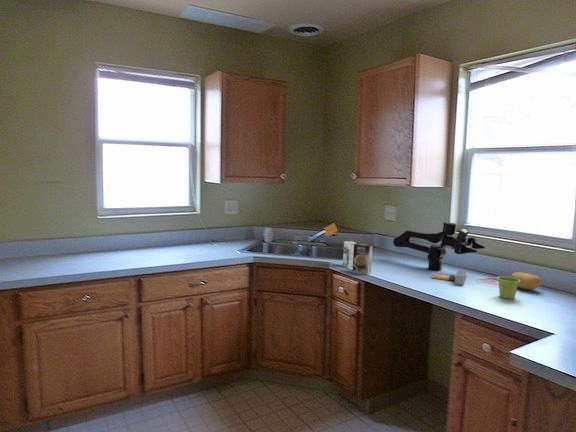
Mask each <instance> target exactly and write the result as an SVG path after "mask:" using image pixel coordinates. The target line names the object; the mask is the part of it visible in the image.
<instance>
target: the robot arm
mask: <svg viewBox="0 0 576 432" xmlns="http://www.w3.org/2000/svg"><path fill="white" fill-rule="evenodd" d="M442 224H443V225H442V226H443V227H442V231H439V232H422V231H416V230H412V229H409V230H405V231H404V232H403V233H402V234H400V235H398V236H397V237H395V238H394V239H393V241H392V242H393V245H394V246H395V248H409V249H411V250H416V251H419V252H422V253H425V254H428V255H426V257H427V260H428V267H426V269H427V270H430V271H435V272H440V271H441V270H443V262H442V260H443V258H444V257H445V256H446V255H447V250H446V247H449V248H451V249H452V250H453V249H454V251H453V252H454V254H456V255H463V254H464V255H465V254H470V253H471V254H472V253H477V252H478V249H479V250H482V249H485V245H483V244H481V243H479V242H478V241H477V238H476V237H475V236H470V237H468V238H467V235H468V234H469V233H470V232H469V230H468V229H466V228H463V229H460V230H459V232H458V234H457V235H456V237H455V236H453V235H455V234H456V229H457V223H454V222H443V223H442ZM411 238H414V239H420V240H424V241H425V240H426V241H427V242H429V243H431V245H428V244H427V245H426V244H422V243H419V242H415V241H411Z"/></svg>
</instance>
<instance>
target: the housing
mask: <svg viewBox="0 0 576 432" xmlns="http://www.w3.org/2000/svg"><path fill="white" fill-rule="evenodd" d="M455 275H456V276H455V281H454V285H455V286H464V285H465V282H466V280H467V270H461V269H460V270H459V269H458V270H457V272H456V274H455Z"/></svg>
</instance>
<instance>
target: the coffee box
mask: <svg viewBox="0 0 576 432" xmlns="http://www.w3.org/2000/svg"><path fill="white" fill-rule="evenodd" d="M355 243H356V244H354V253H353V267H352V273H353V274H357V275H365V276H368V275H370V274H372V260H373V244H369V243H361V242H355Z"/></svg>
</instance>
